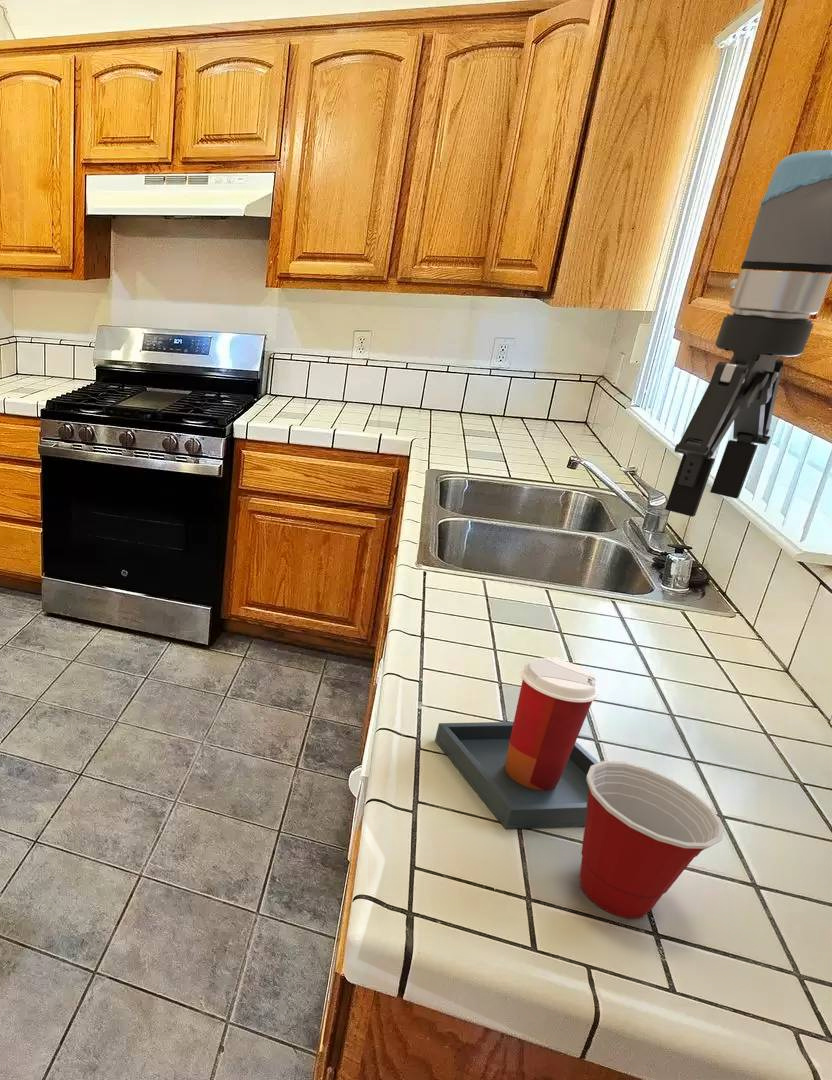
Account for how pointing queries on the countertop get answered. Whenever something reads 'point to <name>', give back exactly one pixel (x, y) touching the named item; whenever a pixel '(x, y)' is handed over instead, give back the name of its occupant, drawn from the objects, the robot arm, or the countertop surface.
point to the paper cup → (548, 720)
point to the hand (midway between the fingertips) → (702, 503)
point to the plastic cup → (639, 836)
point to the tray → (512, 803)
